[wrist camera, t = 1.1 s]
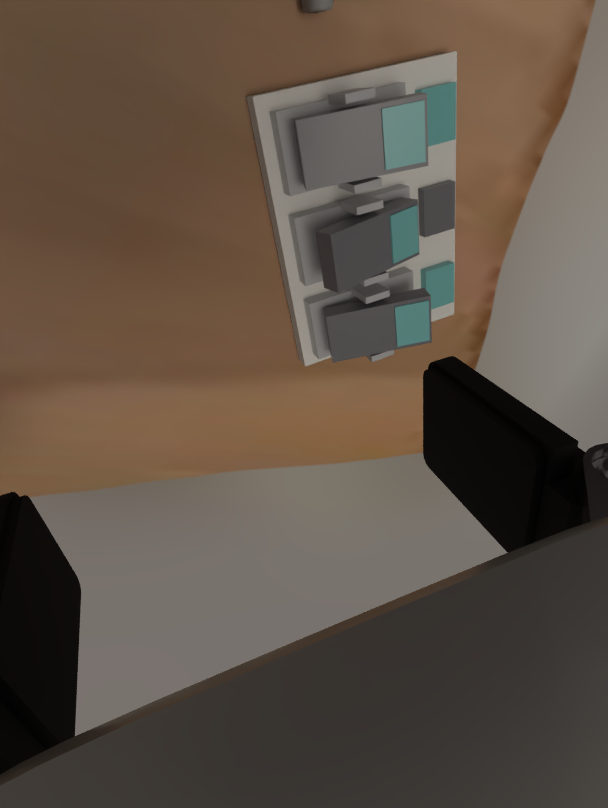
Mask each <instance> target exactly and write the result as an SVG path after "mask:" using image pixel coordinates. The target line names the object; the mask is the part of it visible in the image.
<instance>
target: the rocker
mask: <svg viewBox="0 0 608 808" xmlns="http://www.w3.org/2000/svg"><path fill="white" fill-rule="evenodd" d="M323 311H324V317H325V323H326V330H327V336H328V342H329V349H330V354H331V357H332V360H333V362H337V361H342V360H347V359H352V358H357V357H362V356H367V355H372V354H377V353H381V352H386V351H391V350H396V349H401V348H406V347H411V346H416V345H421V344H426V343H431V342H432V333H431V295H430V294H429V293H428V292H427V291H426V289H425V288H420V289H416V290H411V291H406V292H401V293H396V294H391V295H390V296H389V297H386V298H383V299H380V300H377V301H374V302H371V303H368V304H365V303H364V302H363V301H357V302H352V303H347V304H342V305H337V306H332V307H327V308H323Z"/></svg>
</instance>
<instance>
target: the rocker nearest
mask: <svg viewBox="0 0 608 808" xmlns="http://www.w3.org/2000/svg"><path fill="white" fill-rule="evenodd" d="M293 120H294V127H295V133H296V139H297V146H298V152H299V158H300V165H301V171H302V178H303V184H304V187H305V189H306V191H309V190H314V189H318V188H323V187H328V186H333V185H338V184H343V183H348V182H352V181H357V180H362V179H367V178H372V177H377V176H382V175H386V174H391V173H396V172H401V171H406V170H411V169H416V168H420V167H425V166H428V123H427V93H420V92H418V93H413V94H408V95H403V96H398V97H394V98H389V99H384V100H379V101H374V102H369V103H365V104H360V105H355V106H350V107H345V108H340V109H336V110H331V111H326V112H321V113H316V114H311V115H307V116H302V117H297V118H293Z"/></svg>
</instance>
